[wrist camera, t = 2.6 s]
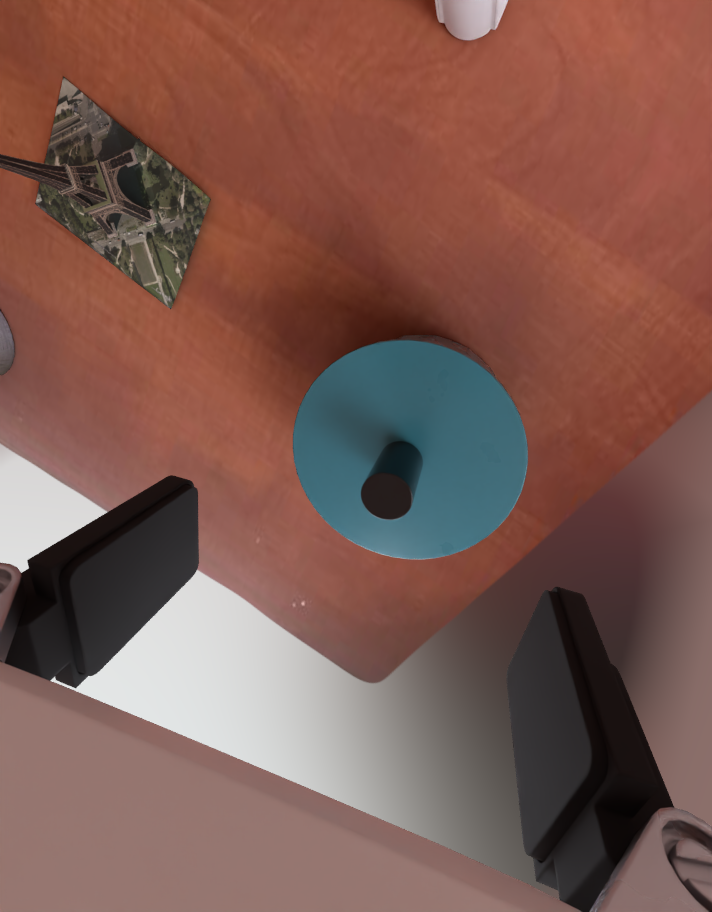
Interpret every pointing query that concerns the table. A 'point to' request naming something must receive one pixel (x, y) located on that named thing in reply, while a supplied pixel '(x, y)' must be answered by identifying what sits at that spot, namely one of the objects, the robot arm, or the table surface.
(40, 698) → the robot arm
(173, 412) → the table surface
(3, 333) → the pillar candle
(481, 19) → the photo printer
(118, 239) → the eiffel tower figurine
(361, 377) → the lid
